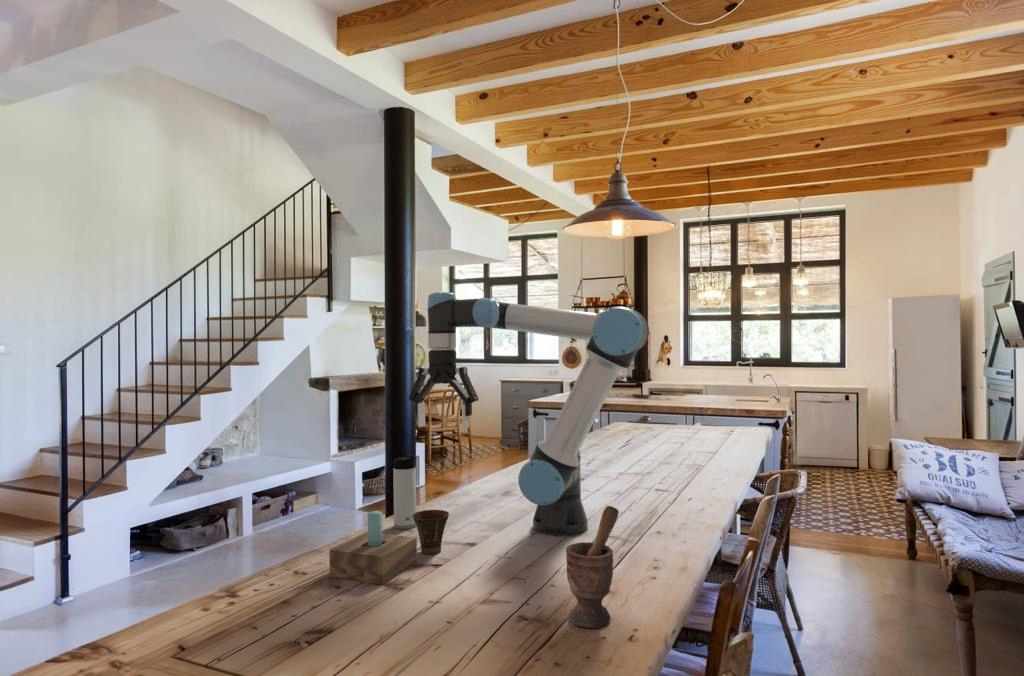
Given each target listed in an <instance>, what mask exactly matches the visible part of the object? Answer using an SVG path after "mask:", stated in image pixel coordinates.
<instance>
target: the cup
mask: <svg viewBox="0 0 1024 676" xmlns="http://www.w3.org/2000/svg"><path fill="white" fill-rule="evenodd" d="M449 517H450V512H448V511H447V510H445V509H444V510H443V509H425V510H421V511H416V513H415V514H413V519H414V521H415V524H416V526H415V527H416V530H417V532H418V537H419V543H420V553H422V554H424V555H436V554H439V553H441V552H442V542H443V536H444V531H445V528H446V524H447V521H448V519H449Z"/></svg>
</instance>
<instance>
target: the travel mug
mask: <svg viewBox="0 0 1024 676" xmlns="http://www.w3.org/2000/svg"><path fill="white" fill-rule="evenodd" d="M417 458H418V457H417V455H415V454H413V455H405V456H400V457H397V458H395V459H393V463H392V464H393V468H392V470H393V471H392V473H393V474H392V476H393V477H392V478H393V485H392V486H393V527H394V528H395V529H397V530H410V529H413V528H415V527H417V526H416V524H415V521H414V519H413V514H415V513H416V512H417V480H416V479H417V475H416V473H417V471H416V470H417V469H416V468H417V467H416V459H417Z"/></svg>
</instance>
